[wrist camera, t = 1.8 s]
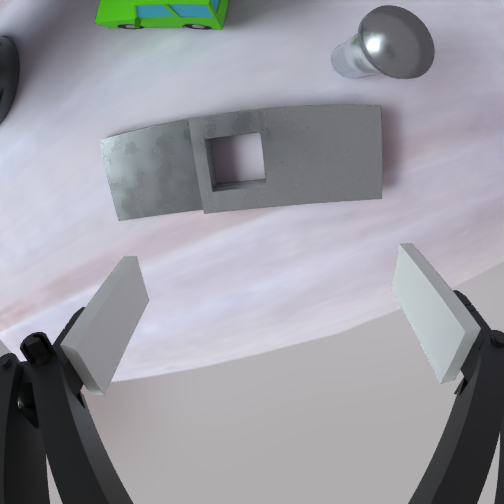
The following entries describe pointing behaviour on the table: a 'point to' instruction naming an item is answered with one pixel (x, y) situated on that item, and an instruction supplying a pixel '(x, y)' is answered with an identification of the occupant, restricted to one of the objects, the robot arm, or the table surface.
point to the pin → (386, 46)
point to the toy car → (162, 14)
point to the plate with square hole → (274, 153)
